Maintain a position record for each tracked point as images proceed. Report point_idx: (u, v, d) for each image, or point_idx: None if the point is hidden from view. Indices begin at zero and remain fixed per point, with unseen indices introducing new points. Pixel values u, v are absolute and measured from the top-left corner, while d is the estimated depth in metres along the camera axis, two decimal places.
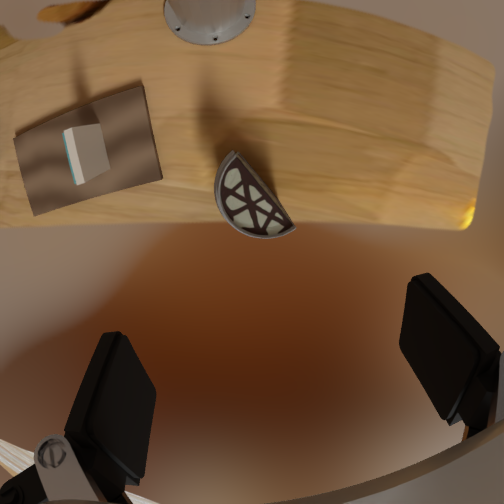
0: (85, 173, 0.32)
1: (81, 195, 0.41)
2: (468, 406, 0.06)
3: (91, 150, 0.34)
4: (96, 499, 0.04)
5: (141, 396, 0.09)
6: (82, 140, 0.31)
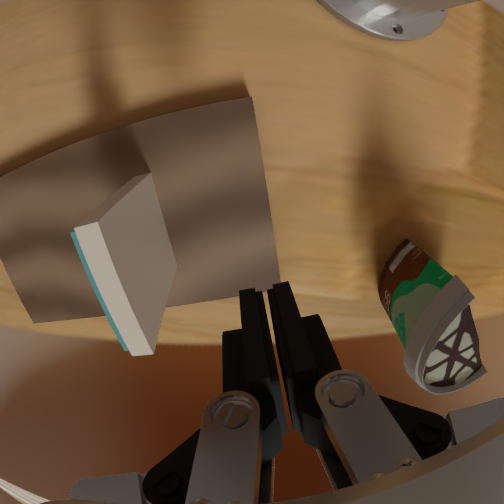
0: (149, 327, 0.14)
1: None
2: (301, 423, 0.07)
3: (148, 252, 0.16)
4: (252, 486, 0.04)
5: None
6: (127, 243, 0.13)
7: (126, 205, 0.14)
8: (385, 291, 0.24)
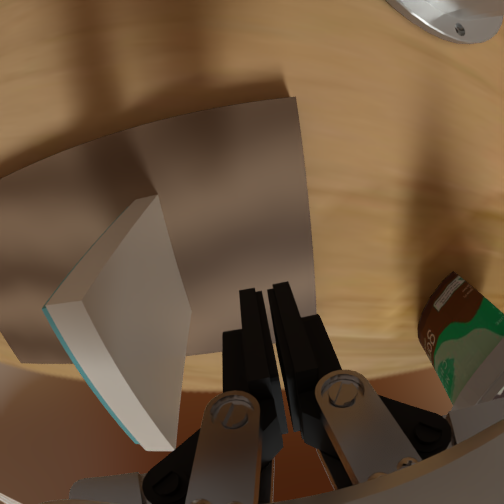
0: (167, 419, 0.10)
1: None
2: (301, 423, 0.07)
3: (158, 312, 0.12)
4: (252, 486, 0.04)
5: None
6: (131, 314, 0.09)
7: (126, 253, 0.09)
8: (428, 330, 0.20)
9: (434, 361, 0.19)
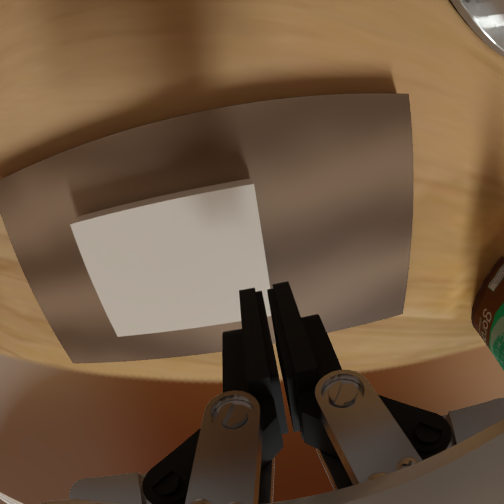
0: (124, 321, 0.16)
1: (205, 343, 0.19)
2: (301, 423, 0.07)
3: (167, 273, 0.14)
4: (252, 486, 0.04)
5: None
6: (117, 252, 0.14)
7: (132, 218, 0.13)
8: (484, 309, 0.20)
9: (490, 337, 0.19)
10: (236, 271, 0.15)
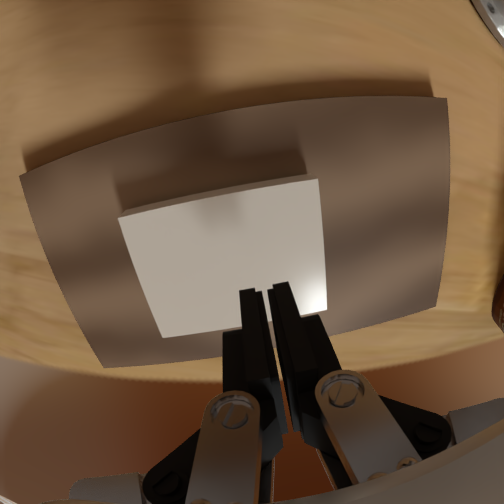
0: (171, 321, 0.15)
1: None
2: (301, 423, 0.07)
3: (224, 269, 0.14)
4: (252, 486, 0.04)
5: None
6: (171, 248, 0.14)
7: (190, 212, 0.13)
8: None
9: None
10: (295, 266, 0.15)
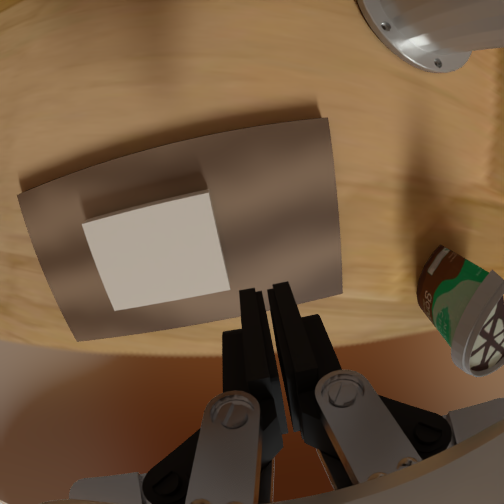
0: (119, 297, 0.21)
1: (182, 318, 0.24)
2: (301, 423, 0.07)
3: (151, 258, 0.20)
4: (252, 486, 0.04)
5: None
6: (116, 244, 0.19)
7: (126, 219, 0.19)
8: (425, 292, 0.26)
9: (432, 315, 0.25)
10: (199, 255, 0.20)
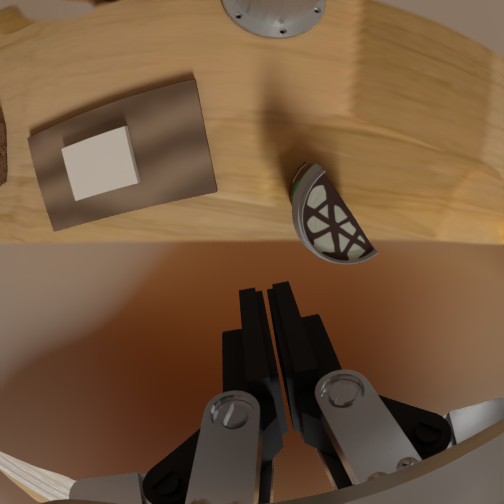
0: (78, 191, 0.33)
1: (115, 208, 0.36)
2: (301, 423, 0.07)
3: (95, 165, 0.32)
4: (252, 486, 0.04)
5: None
6: (78, 158, 0.31)
7: (83, 144, 0.31)
8: (291, 197, 0.37)
9: None
10: (120, 162, 0.32)
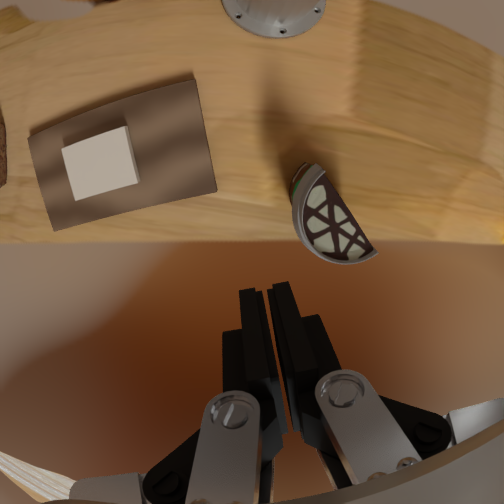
0: (78, 191, 0.33)
1: (115, 208, 0.36)
2: (301, 423, 0.07)
3: (95, 165, 0.32)
4: (252, 486, 0.04)
5: None
6: (78, 158, 0.31)
7: (83, 143, 0.31)
8: (291, 197, 0.37)
9: None
10: (120, 162, 0.32)
